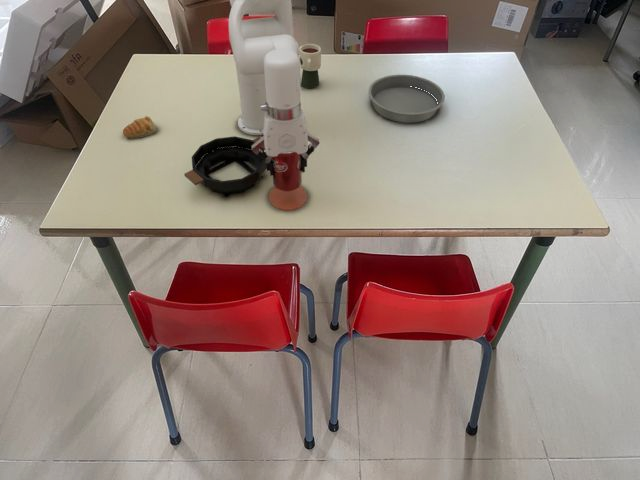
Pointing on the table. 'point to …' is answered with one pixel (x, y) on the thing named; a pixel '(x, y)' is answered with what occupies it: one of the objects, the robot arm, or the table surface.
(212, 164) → the wok
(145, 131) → the pastry
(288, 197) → the coaster
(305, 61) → the character mug
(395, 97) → the cake pan
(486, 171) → the table surface
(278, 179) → the soda can
